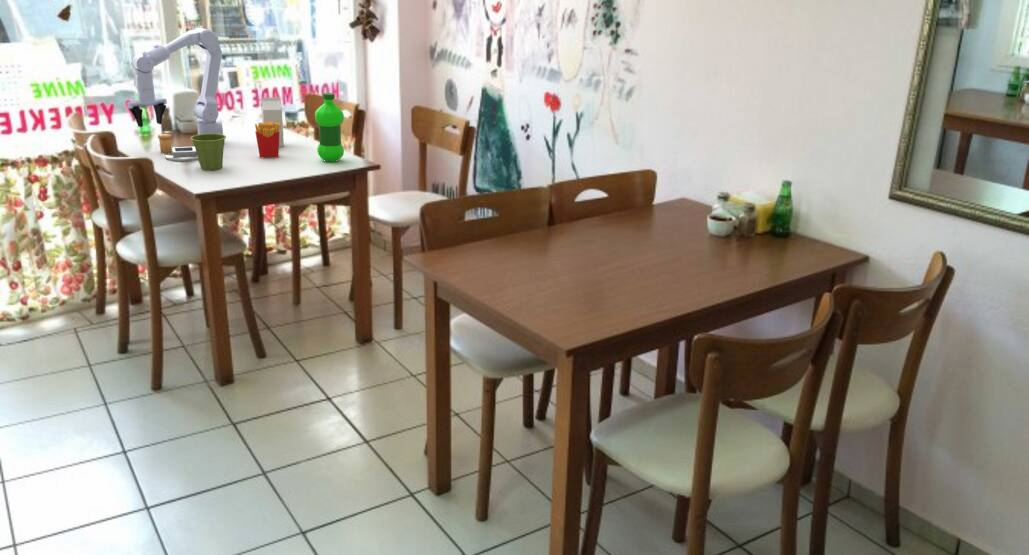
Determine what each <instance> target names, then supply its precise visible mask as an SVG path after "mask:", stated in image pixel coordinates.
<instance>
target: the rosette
mask: <svg viewBox="0 0 1029 555" xmlns="http://www.w3.org/2000/svg"><path fill="white" fill-rule="evenodd" d="M171 147H172V146H171ZM164 155H165V159H166V160H167V161H171V162H177V161H179V162H182V163H183V162H184V161H185V163H186V162H194V161H199V159H198V156H197V152H196V149H195V146H194V145H193V146H178V147H177V146H176V147H172V152H170V153H168V154H164Z"/></svg>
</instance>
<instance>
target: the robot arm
mask: <svg viewBox="0 0 1029 555" xmlns="http://www.w3.org/2000/svg"><path fill="white" fill-rule="evenodd" d="M189 45H195V46H198V47H200V48H201V50H202V51H203V52H204V53H205V54H206V56H205V57H206V58H205V64H204V65H205V66H204V70H203V75H202V76H203V78H202V82H201V83H202V85H201V89H200V90H201V91H200V95H199V96H198V98H197V99H196V103H195V105H194V107H193V109H192V110H193V111H192V112H193V114H194V116H195V117H196V118H197V119H196V126H197V135H199V134H222V135H224V131H223V122H222V121H221V120H217V119H218V117H219V110H218V101H217V100H216V95H217V87H218V82H219V74H220V68H221V62H222V57H223V56H222V55H223V52H222V49H221V45H220V42H219V36H218V35H217V34H216V33H215V32H214V31H213V30H211V29H206V28H202V27H199V26H198V27H197V26H196V27H194V28H192V29H189V30H188V31H186V32H185V33H183V34H181V35H180V36H178V37H177V38H175V39H174V40H172V41H170V42H168V43H167V44H165V45H163V44H154V45H153V48H151V49H149V50H147V51H142V54H136V55H134V57H133V59H132V61H131V63H130V64H131V66H132V68H133V69H134V73H135V83H136V90H137V97H138V100H134V101H130V102H129V101H128V102H127V103H126V104H127V108H128V109H129V111H130V113H131V114H132V115H133V117H134V120H135V121H136V124H137V126H138V128H143V126H144V122H143V109H142V108H141V107H150V106H153V110H154V113H155V120H156V124H157V125H162V124H163V117H164V113H165V111H166V109H167V104H168V102H167V98H164V97H160V98H156V96H155V95H156V94H155V88H154V77H153V72H152V71H153V69H154V68H155V67H156V66H158V65H160V64H162V63H163V62H165V61H167V60H168V59H170V57H171V54H172V53H175V52H177V51H178V50H181V49H182V48H184V47H187V46H189Z"/></svg>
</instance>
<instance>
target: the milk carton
mask: <svg viewBox="0 0 1029 555" xmlns="http://www.w3.org/2000/svg"><path fill="white" fill-rule="evenodd" d="M260 98H261V103H260V104H261V105H260V108H261V110H260V112H261V123H267V122H272V124H273V122H276V123H280V125H281V126H280V130H279V132H280V133H279V148H282V147H283V146H284V147H285V142H284V140H285V139H284V127H283V125H284V124H283V108H282V107H283V106H282V102H281V97H260ZM284 147H283V148H284Z"/></svg>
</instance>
